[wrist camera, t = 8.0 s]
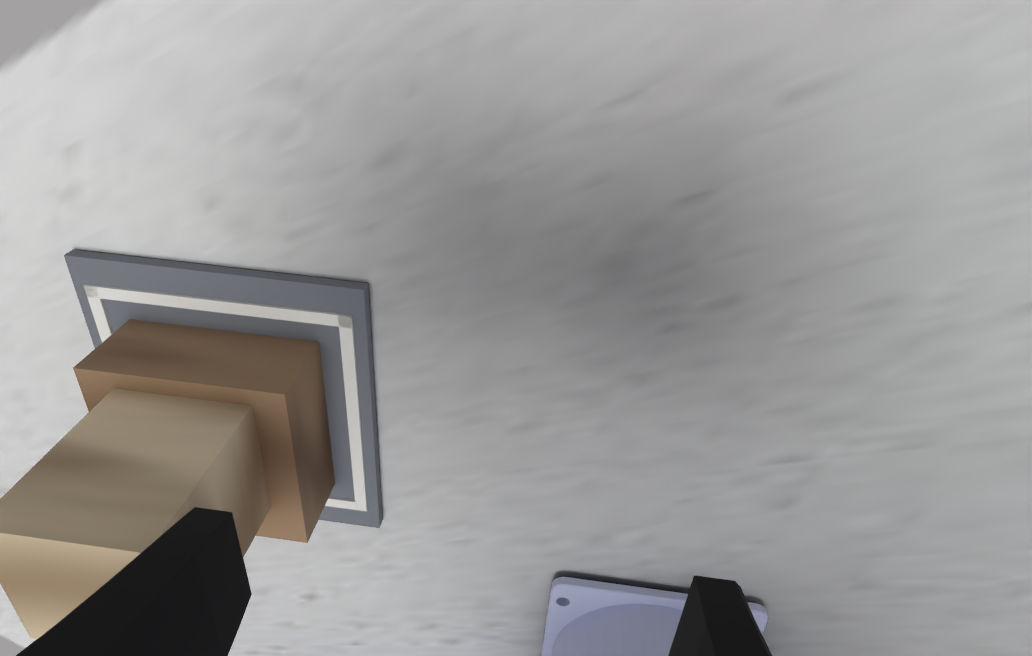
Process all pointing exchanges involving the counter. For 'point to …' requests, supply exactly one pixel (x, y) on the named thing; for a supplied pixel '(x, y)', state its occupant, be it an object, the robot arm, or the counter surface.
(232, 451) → the maple block
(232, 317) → the grey flat square plate
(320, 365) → the walnut base
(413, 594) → the counter surface
